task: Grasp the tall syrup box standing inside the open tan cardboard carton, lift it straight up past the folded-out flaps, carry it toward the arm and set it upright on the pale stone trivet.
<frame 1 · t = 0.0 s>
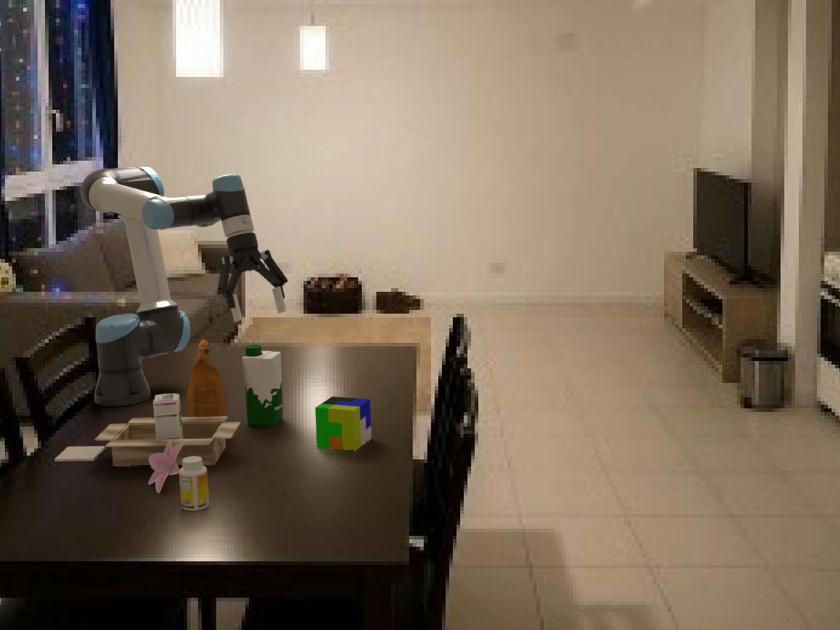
hand: (260, 316, 268), 28 cm above the table, tool tilted 20°, fingers open, 13 cm apart
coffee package: (208, 428, 270), on the table
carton: (170, 456, 248), on the table
milk carton: (265, 422, 274), on the table
supplement bottle: (195, 507, 217), on the table
syrup box: (171, 457, 249), resting in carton
lily: (167, 486, 230), on the table
trivet: (80, 454, 251), on the table
puzzle toy: (344, 444, 255), on the table
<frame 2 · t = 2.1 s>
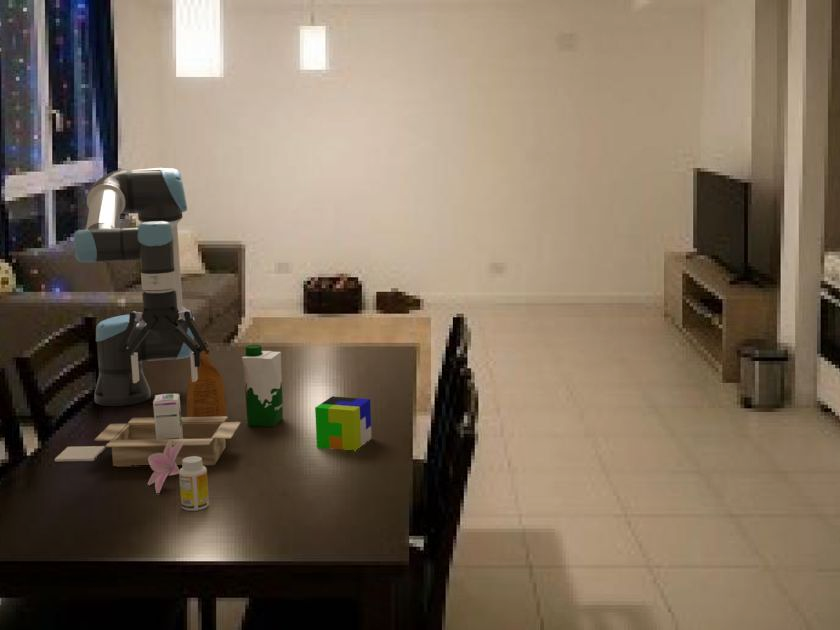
hand: (165, 381, 245), 18 cm above the table, tool pointing down, fingers open, 13 cm apart
nothing on the table moved.
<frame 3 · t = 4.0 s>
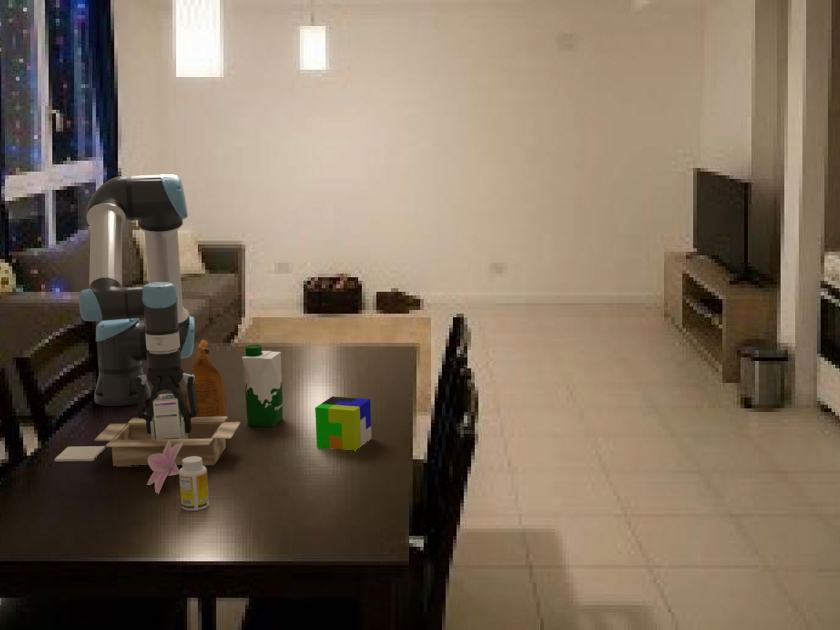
hand: (170, 446, 248), 2 cm above the table, tool pointing down, fingers closed on syrup box, 6 cm apart
syrup box: (171, 457, 249), resting in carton, touching gripper
everything else where it was.
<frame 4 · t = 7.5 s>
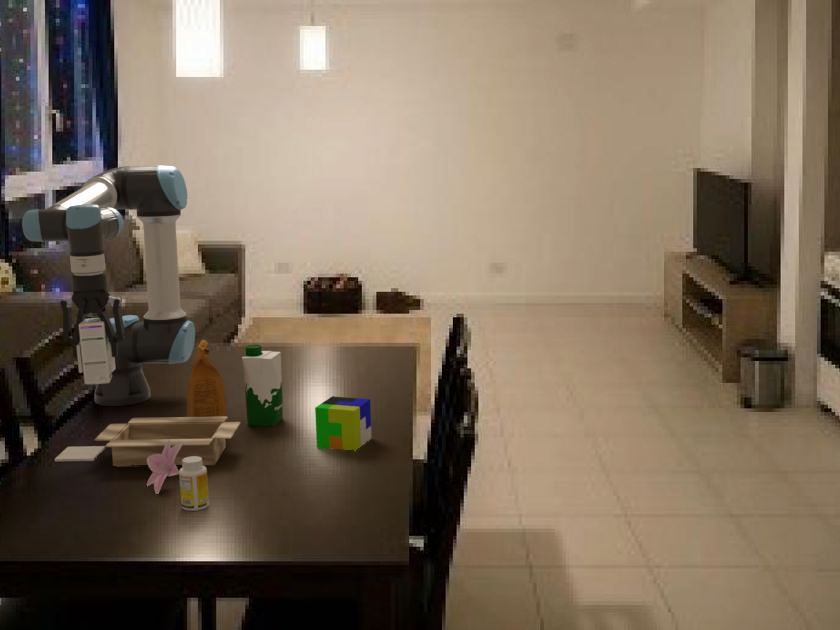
hand: (97, 370, 246), 21 cm above the table, tool pointing down, fingers closed on syrup box, 6 cm apart
syrup box: (98, 381, 247), point 18 cm above the table, touching gripper
everything else where it was.
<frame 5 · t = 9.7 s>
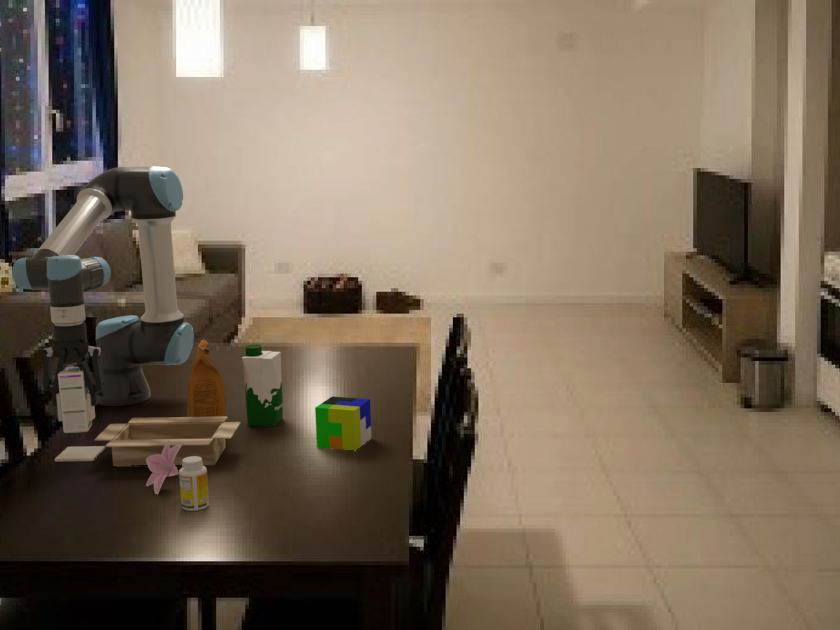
hand: (77, 419, 249), 9 cm above the table, tool pointing down, fingers closed on syrup box, 6 cm apart
syrup box: (77, 430, 249), point 6 cm above the table, touching gripper
everything else where it was.
when the fingers open (4 cm above the table, at t = 11.3 s): syrup box drops 1 cm, resting on trivet.
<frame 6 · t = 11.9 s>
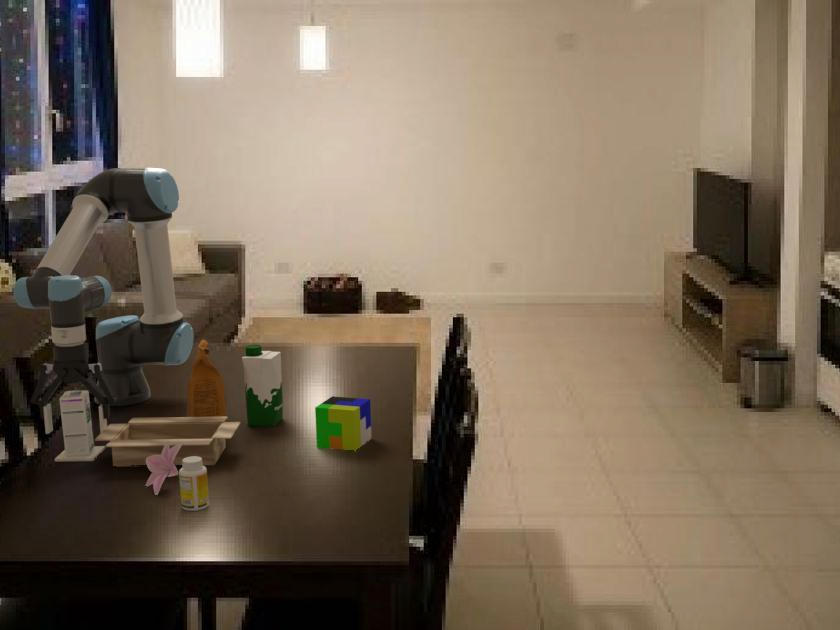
hand: (76, 431, 250), 6 cm above the table, tool pointing down, fingers open, 12 cm apart
syrup box: (79, 453, 251), resting on trivet
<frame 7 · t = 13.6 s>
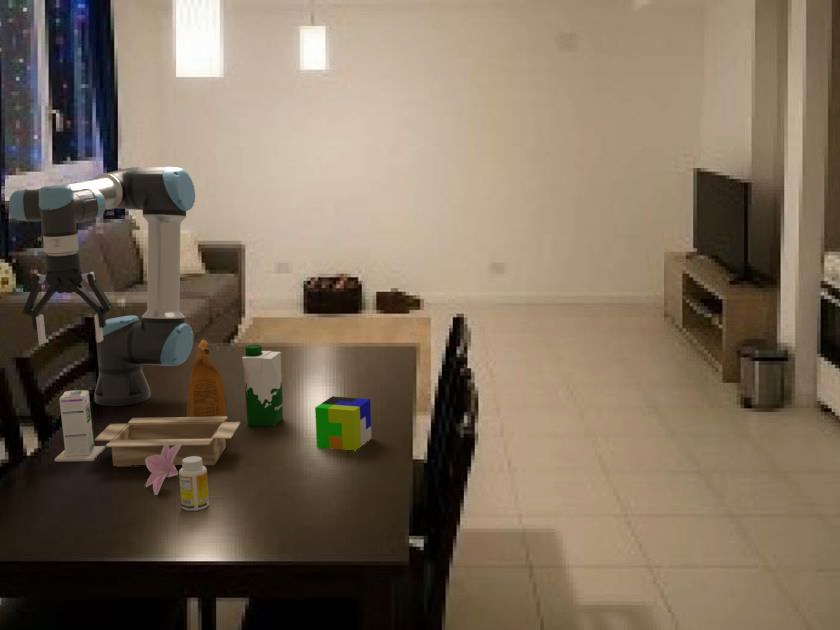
hand: (71, 342, 250), 26 cm above the table, tool pointing down, fingers open, 13 cm apart
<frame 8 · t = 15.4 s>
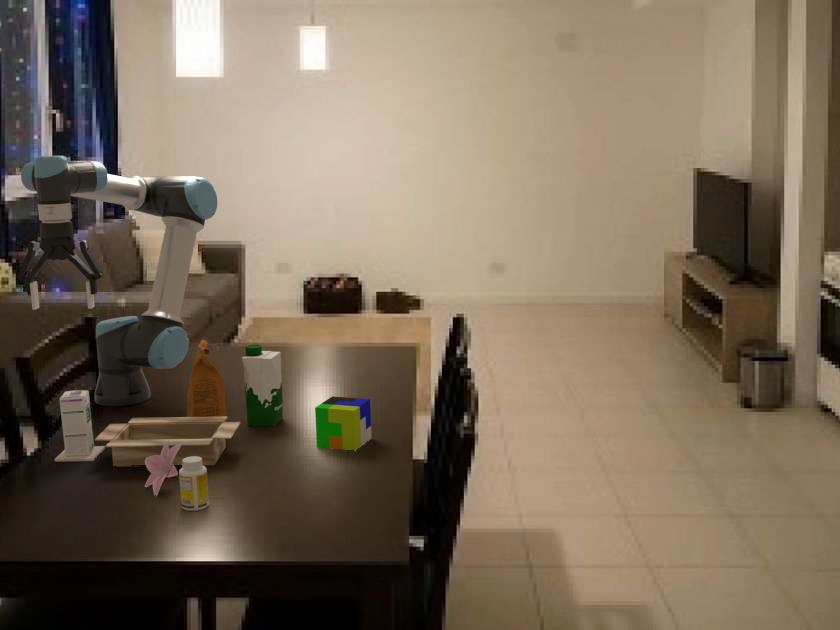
hand: (63, 308, 258), 33 cm above the table, tool pointing down, fingers open, 13 cm apart
at the end: syrup box inside the target area on the trivet (0.1 cm from its centre), point 0.4 cm above the trivet's base; syrup box tilted 0°; the gripper is holding nothing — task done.
